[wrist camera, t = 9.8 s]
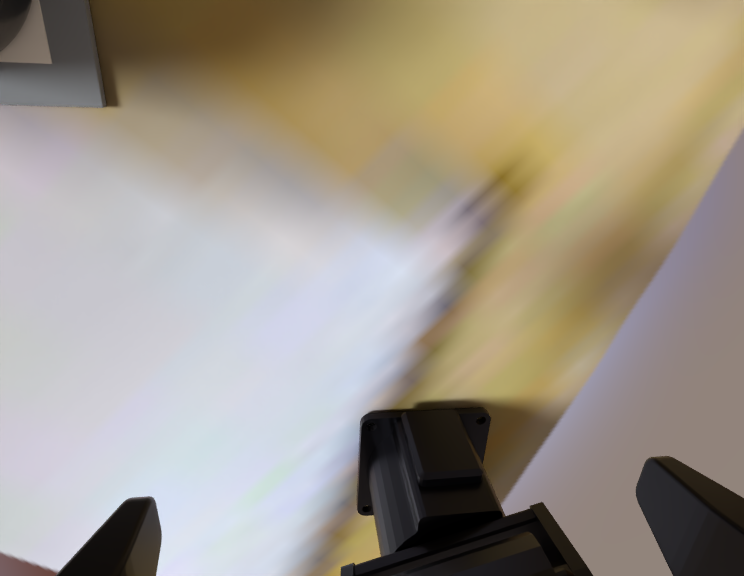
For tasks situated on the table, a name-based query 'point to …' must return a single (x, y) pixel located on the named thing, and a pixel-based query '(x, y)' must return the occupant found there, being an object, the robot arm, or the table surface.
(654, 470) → the robot arm
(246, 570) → the table surface
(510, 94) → the table surface
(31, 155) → the table surface
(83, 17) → the grey mat
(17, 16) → the supplement bottle
